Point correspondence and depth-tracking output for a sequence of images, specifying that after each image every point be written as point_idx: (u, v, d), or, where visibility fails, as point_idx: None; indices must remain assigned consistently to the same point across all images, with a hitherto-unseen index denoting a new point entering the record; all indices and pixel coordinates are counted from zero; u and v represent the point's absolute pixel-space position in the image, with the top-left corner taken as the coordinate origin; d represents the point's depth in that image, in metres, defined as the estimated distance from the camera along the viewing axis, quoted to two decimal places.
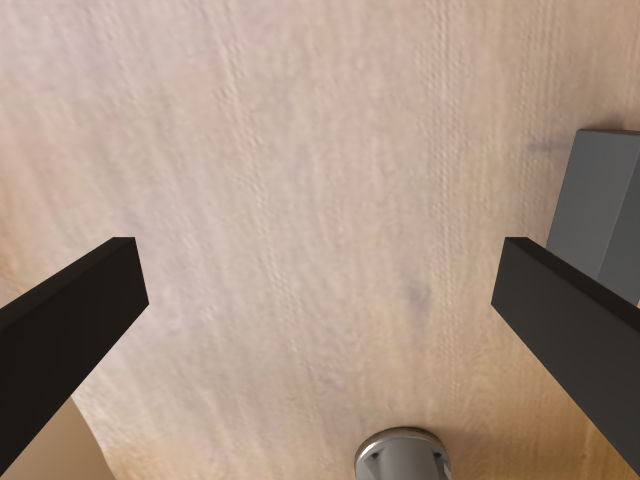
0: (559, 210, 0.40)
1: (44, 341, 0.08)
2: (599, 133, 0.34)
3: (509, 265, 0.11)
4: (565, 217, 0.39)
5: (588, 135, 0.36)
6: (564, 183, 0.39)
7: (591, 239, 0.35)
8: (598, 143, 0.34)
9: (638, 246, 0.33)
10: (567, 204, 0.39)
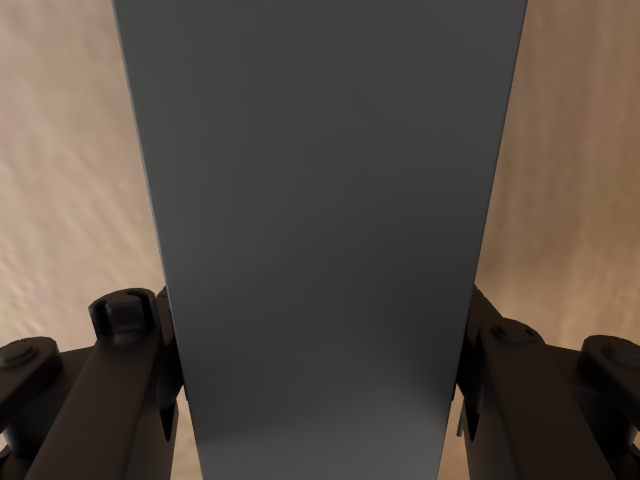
0: None
1: None
2: None
3: None
4: None
5: None
6: None
7: None
8: None
9: None
10: None
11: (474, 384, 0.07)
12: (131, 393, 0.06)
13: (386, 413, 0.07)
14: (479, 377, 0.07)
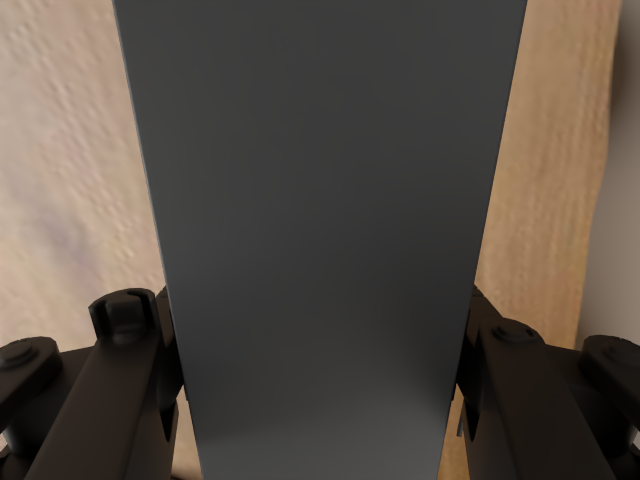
0: None
1: None
2: None
3: None
4: None
5: None
6: None
7: None
8: None
9: None
10: None
11: (474, 384, 0.07)
12: (131, 393, 0.06)
13: (386, 412, 0.07)
14: (479, 377, 0.07)
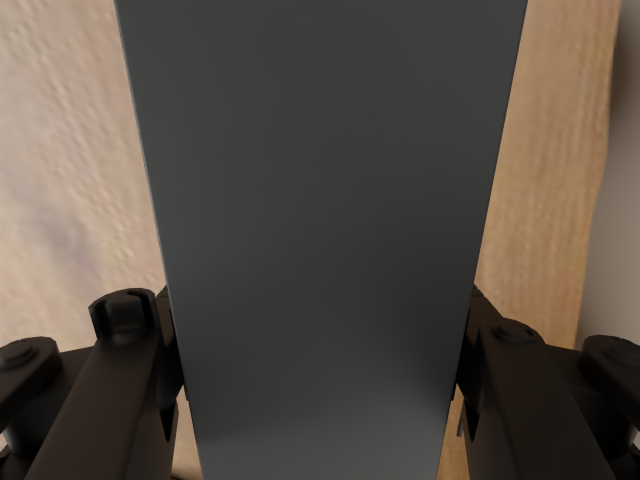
0: None
1: None
2: None
3: None
4: None
5: None
6: None
7: None
8: None
9: None
10: None
11: (474, 384, 0.07)
12: (131, 393, 0.06)
13: (386, 411, 0.07)
14: (479, 377, 0.07)
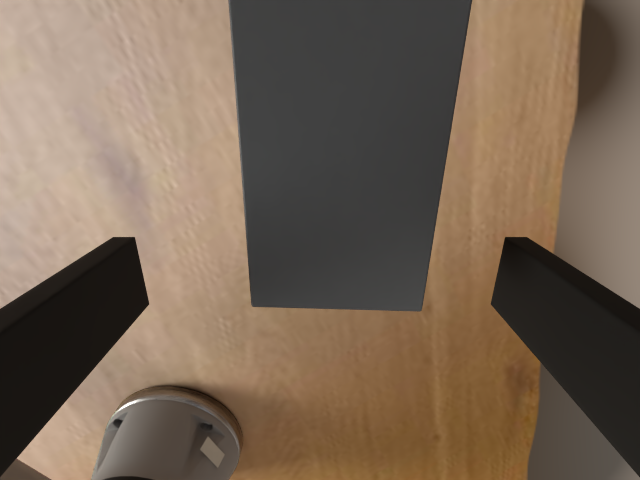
0: None
1: (44, 341, 0.08)
2: None
3: (509, 265, 0.12)
4: None
5: None
6: None
7: None
8: None
9: None
10: None
11: None
12: None
13: (389, 214, 0.09)
14: None
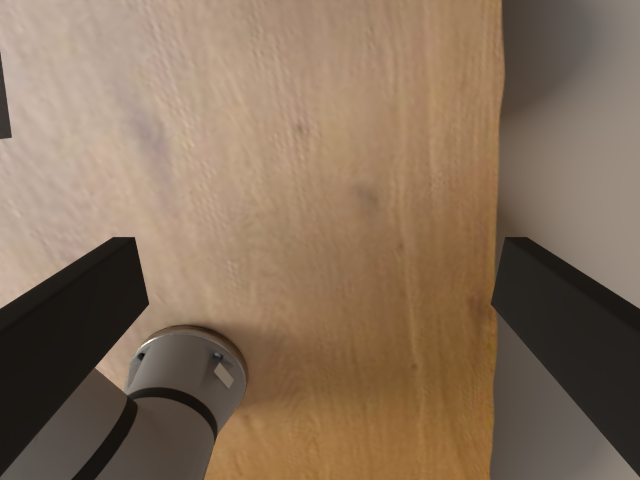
0: None
1: (44, 341, 0.08)
2: None
3: (509, 265, 0.12)
4: None
5: None
6: None
7: None
8: None
9: None
10: None
11: None
12: None
13: None
14: None
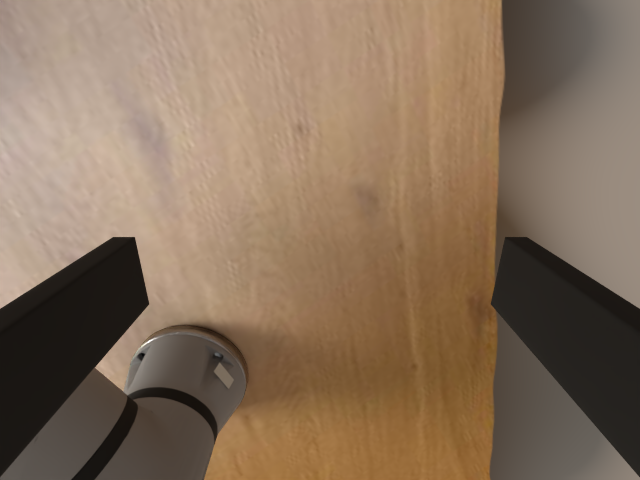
0: None
1: (44, 341, 0.08)
2: None
3: (509, 265, 0.12)
4: None
5: None
6: None
7: None
8: None
9: None
10: None
11: None
12: None
13: None
14: None
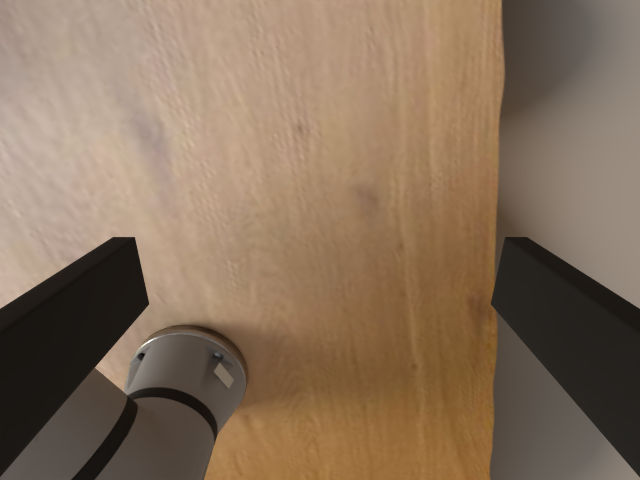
0: None
1: (44, 341, 0.08)
2: None
3: (509, 265, 0.12)
4: None
5: None
6: None
7: None
8: None
9: None
10: None
11: None
12: None
13: None
14: None
